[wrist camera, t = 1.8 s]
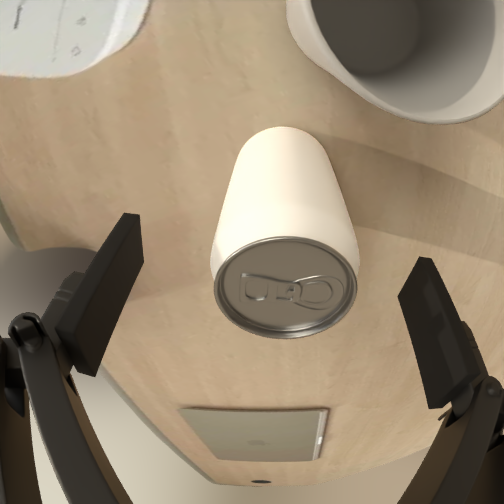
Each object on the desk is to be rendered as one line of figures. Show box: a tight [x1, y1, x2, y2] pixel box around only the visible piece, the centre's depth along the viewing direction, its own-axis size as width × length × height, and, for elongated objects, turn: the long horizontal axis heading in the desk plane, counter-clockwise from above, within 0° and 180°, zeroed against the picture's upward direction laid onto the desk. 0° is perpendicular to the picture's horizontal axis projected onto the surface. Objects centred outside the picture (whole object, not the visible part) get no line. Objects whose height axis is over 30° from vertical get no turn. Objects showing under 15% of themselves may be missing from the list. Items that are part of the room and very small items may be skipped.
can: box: [210, 127, 360, 339], centre depth 17 cm, size 6×6×12 cm
